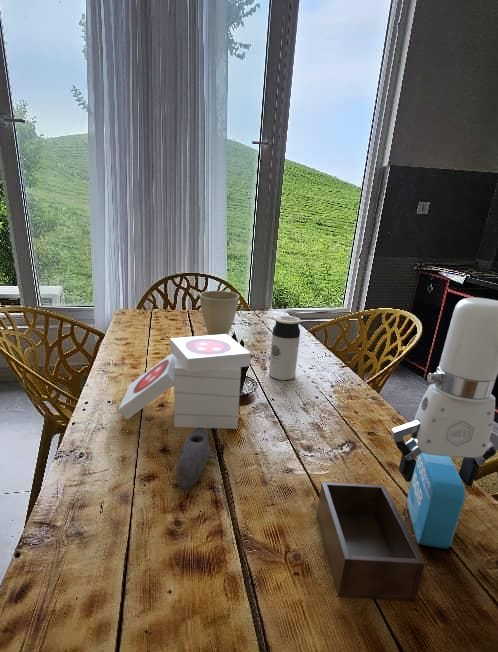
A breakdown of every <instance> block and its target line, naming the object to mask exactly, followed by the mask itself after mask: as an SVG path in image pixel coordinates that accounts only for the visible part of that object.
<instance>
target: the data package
mask: <svg viewBox="0 0 498 652" xmlns="http://www.w3.org/2000/svg"><path fill="white" fill-rule="evenodd" d="M452 459H453V458H452V457H451V456H438V455H429V454H425V453H423V452H422V453H421V454H419V455H418V456H417V457H416V459H415V461H416V466H415V469H414V473H413V477H412V480H411V481H410V486H409V490H408V494H407V500H406V503H407V509H408V512H409V516H410V521H411V524H412V528H413V533H414V536H415V539H416V542H417V544H418V545H421V546H427V547H432V548H437V549H441V550H449V549H450V547H451V546H452V543H453V540H454V537H455V533H456V529H457V526H458V524H459V520H460V517H461V512H462V510H463V506H464V503H465V500H466V486H465V485H464V484H465V483H464V482H463V481H462V479H461V478H460V476H459V471H458V470H457V468H456V465H455V463H454V461H453V460H452Z"/></svg>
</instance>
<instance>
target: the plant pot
mask: <svg viewBox="0 0 498 652" xmlns="http://www.w3.org/2000/svg"><path fill="white" fill-rule="evenodd" d="M239 301H240V294H238V293H236V292H234V291H228V290H205V291H203V292H200V293H199V303H200V309H201V314H202V315H201V316H202V318H203V322H204V327H205V330H206V332H207V335H219V334H227V335H229V334H230V331H231V328H232V327H233V323H234V320H235V317H236V314H237V309H238V304H239Z"/></svg>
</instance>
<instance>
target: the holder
mask: <svg viewBox="0 0 498 652" xmlns="http://www.w3.org/2000/svg"><path fill="white" fill-rule="evenodd" d="M319 490H320V491H319V496H318V503H317V509H316V516H317V520H318V521H317V522H318V525H319V528H320V531H321V537H322V540H323V543H324V547H325V552H326V555H327V559H328V563H329V567H330V570H331V575H332V579H333V582H334V586H335V590H336V594H337V597H339V598H356V599H372V600H373V599H375V600H391V601H408V602H415V601H416V598H417V595H418V591H419V587H420V585H421V580H422V576H423V573H424V569H425V566H426V562H425V560H424V559H423V557H422V554H421V553H420V551H419V548H418V547H417V545H416V543H415V541H414V540H413V538H412V536H411V534H410V531H409V530H408V528H407V526H406V524H405V522H404V519H403V518H402V516H401V514H400V513H399V510H398V509H397V508H398V507H397V506H396V504H395V503H394V501H393V499H392V497H391V495H390V493H389V491H388V489H387V487H386V485H385V484H368V483H367V484H366V483H350V482H348V483H347V482H331V481H330V482H329V481H321V483H320V489H319Z"/></svg>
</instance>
